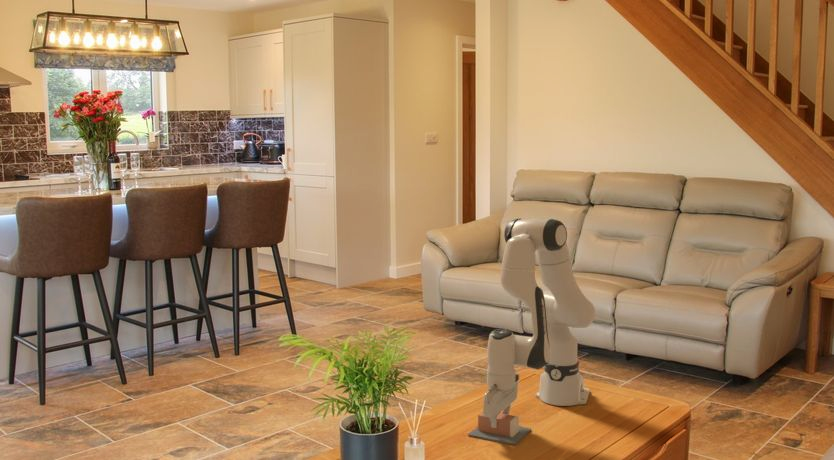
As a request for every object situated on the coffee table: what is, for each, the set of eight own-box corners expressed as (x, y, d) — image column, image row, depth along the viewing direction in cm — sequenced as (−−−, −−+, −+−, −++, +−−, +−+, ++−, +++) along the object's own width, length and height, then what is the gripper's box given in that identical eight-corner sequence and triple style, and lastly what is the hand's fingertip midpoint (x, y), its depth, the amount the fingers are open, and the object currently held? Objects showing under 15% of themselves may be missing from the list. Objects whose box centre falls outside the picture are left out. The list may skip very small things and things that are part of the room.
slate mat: (485, 421, 264) (485, 419, 264) (531, 430, 257) (531, 428, 257) (468, 435, 252) (468, 434, 252) (515, 445, 245) (515, 443, 245)
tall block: (484, 410, 259) (518, 416, 254) (484, 425, 260) (518, 431, 254) (478, 415, 255) (513, 421, 249) (478, 430, 255) (512, 437, 250)
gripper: (497, 391, 242) (496, 434, 244) (521, 373, 260) (520, 413, 261) (478, 388, 245) (477, 431, 247) (503, 370, 263) (502, 410, 264)
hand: (500, 422), depth 254 cm, fingers open, 8 cm apart
